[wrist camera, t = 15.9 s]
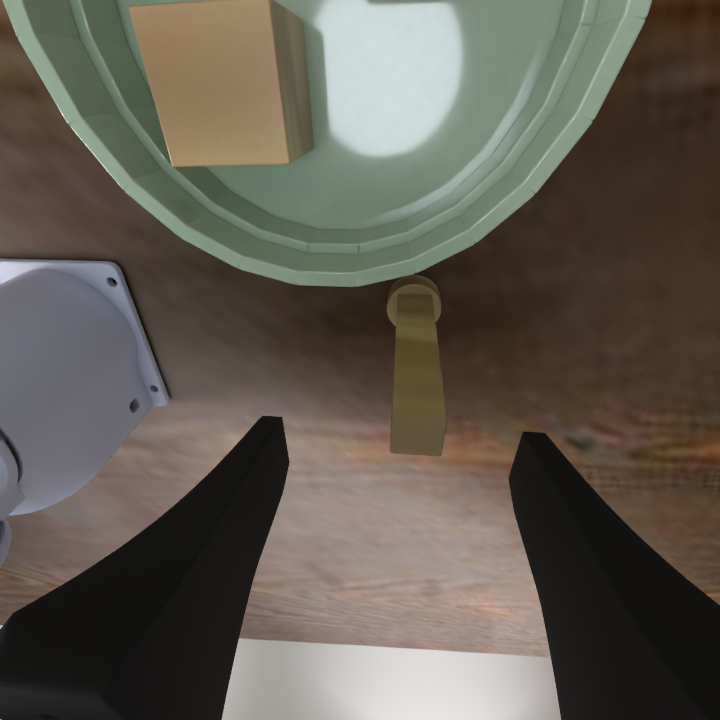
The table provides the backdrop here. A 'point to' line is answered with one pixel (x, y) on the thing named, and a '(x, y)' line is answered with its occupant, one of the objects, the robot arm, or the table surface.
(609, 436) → the table surface
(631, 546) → the robot arm
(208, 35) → the maple block
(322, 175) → the bowl
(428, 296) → the muddler
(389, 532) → the table surface
